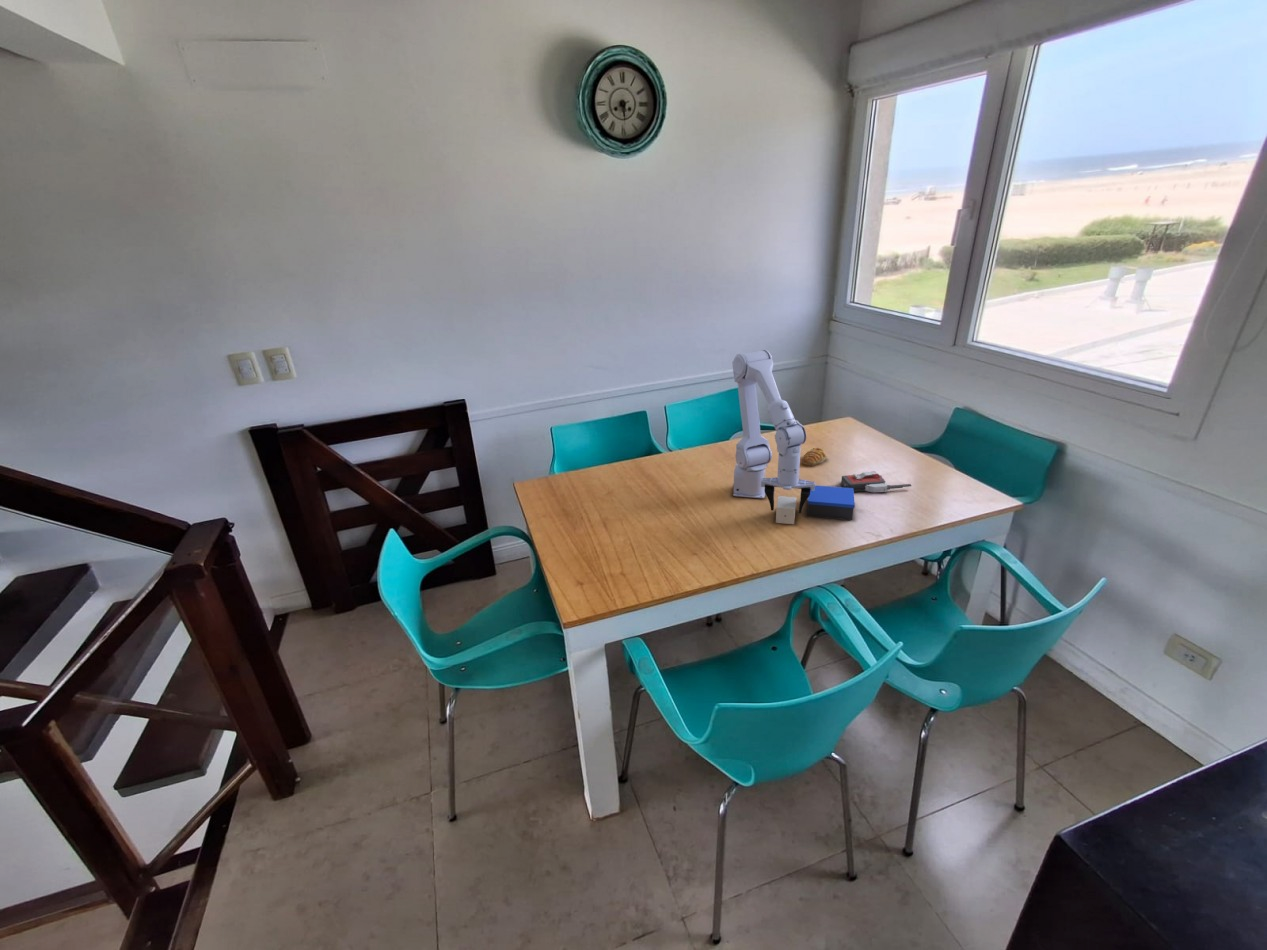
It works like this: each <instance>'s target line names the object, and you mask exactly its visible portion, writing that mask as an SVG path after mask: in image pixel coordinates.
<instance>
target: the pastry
mask: <svg viewBox="0 0 1267 950" xmlns="http://www.w3.org/2000/svg"><path fill="white" fill-rule="evenodd" d="M827 458H828V456H827V454H826V452H825V450H824V449H822V448H821V447H813V448H812V449H810V450H808V451H806V453H804V455H803V458H802V463H803V465H807V466H813V467H814V466H817V465H820V464H822V463H823V462H825V460H826V459H827Z"/></svg>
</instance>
